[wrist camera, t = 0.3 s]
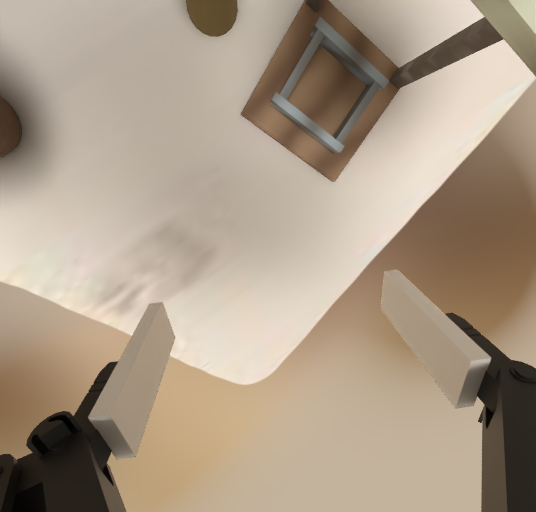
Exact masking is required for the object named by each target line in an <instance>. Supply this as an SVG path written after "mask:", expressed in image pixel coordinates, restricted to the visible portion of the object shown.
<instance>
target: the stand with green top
mask: <svg viewBox="0 0 536 512" xmlns="http://www.w3.org/2000/svg"><path fill="white" fill-rule="evenodd" d="M471 1H472V2H473V4H474V5H475V6H476V7H477V8H478V9H479V11H480V12H481V13H482V14H483V15H484V16H485V17H484V18H482V19H480V20H479V21H477V22H475V23H474V24H472V25H470V26H469V27H467V28H465V29H464V30H462V31H460V32H459V33H457V34H455V35H454V36H452V37H450V38H449V39H447V40H445V41H444V42H442V43H440V44H439V45H437V46H435V47H434V48H432V49H430V50H429V51H427V52H425V53H424V54H422V55H420V56H419V57H417V58H415V59H414V60H412V61H410V62H409V63H407V64H405V65H404V66H402V67H400V68H398V67H397V66H396V65H395V64H394V63H393V62H392V61H391V60H390V59H388V58H387V57H386V56H385V55H384V54H383V53H382V52H381V51H380V50H379V49H378V48H377V47H376V46H375V45H374V44H373V43H372V42H371V41H370V40H369V39H368V38H367V37H366V36H364V35H363V34H362V33H361V32H360V31H359V30H358V29H357V28H356V27H355V26H354V25H353V24H352V23H351V22H350V21H349V20H348V19H347V18H346V17H345V16H344V15H343V14H341V13H340V12H339V11H338V10H337V9H336V8H335V7H334V6H333V5H332V4H331V3H330V2H329V1H328V0H305V1H304V3H303V4H302V6H301V8H300V10H299V12H298V13H297V15H296V17H295V19H294V20H293V22H292V24H291V26H290V28H289V29H288V31H287V33H286V35H285V36H284V38H283V40H282V42H281V44H280V45H279V47H278V49H277V51H276V53H275V54H274V56H273V58H272V60H271V61H270V63H269V65H268V67H267V69H266V70H265V72H264V74H263V76H262V77H261V79H260V81H259V83H258V85H257V86H256V88H255V90H254V92H253V93H252V95H251V97H250V99H249V101H248V102H247V104H246V106H245V108H244V109H243V111H242V113H241V115H242V116H244V117H245V118H246V119H248V120H249V121H251V122H252V123H253V124H255V125H256V126H257V127H259V128H260V129H261V130H263V131H264V132H266V133H267V134H268V135H270V136H271V137H272V138H274V139H275V140H276V141H278V142H279V143H281V144H282V145H283V146H285V147H286V148H287V149H289V150H290V151H291V152H293V153H294V154H296V155H297V156H298V157H300V158H301V159H302V160H304V161H305V162H306V163H308V164H309V165H311V166H312V167H313V168H315V169H316V170H317V171H319V172H320V173H321V174H323V175H324V176H325V177H327V178H328V179H330V180H331V181H333V182H335V181H336V179H337V178H338V176H339V175H340V173H341V172H342V171H343V169H344V168H345V166H346V165H347V163H348V162H349V161H350V159H351V158H352V156H353V155H354V153H355V152H356V151H357V149H358V148H359V146H360V145H361V143H362V142H363V141H364V139H365V138H366V136H367V135H368V133H369V132H370V130H371V129H372V128H373V126H374V125H375V123H376V122H377V120H378V119H379V118H380V116H381V115H382V113H383V112H384V110H385V109H386V108H387V106H388V105H389V103H390V102H391V100H392V99H393V98H394V96H395V95H396V93H397V92H398V90H399V89H400V88H401V87H403V86H405V85H407V84H409V83H412V82H414V81H416V80H418V79H420V78H422V77H424V76H426V75H429V74H431V73H433V72H435V71H437V70H439V69H441V68H443V67H446V66H448V65H450V64H452V63H454V62H456V61H458V60H460V59H463V58H465V57H467V56H469V55H471V54H473V53H475V52H477V51H479V50H482V49H484V48H486V47H488V46H490V45H492V44H494V43H496V42H499V41H501V40H503V39H504V40H505V41H506V42H507V43H508V44H509V46H510V47H511V48H512V49H513V50H514V51H515V53H516V54H517V55H518V56H519V57H520V58H521V60H522V61H523V62H524V63H525V64H526V65H527V67H528V68H529V69H530V70H531V71H532V72H533V74H534V75H535V76H536V0H471Z"/></svg>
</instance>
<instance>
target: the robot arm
mask: <svg viewBox="0 0 536 512" xmlns="http://www.w3.org/2000/svg"><path fill="white" fill-rule="evenodd" d="M381 310H382V311H383V312H384V314H385V315H386V316H387V318H388V319H389V320H390V322H391V323H392V324H393V326H394V327H395V328H396V330H397V331H398V332H399V334H400V335H401V336H402V338H403V339H404V340H405V342H406V343H407V344H408V346H409V347H410V349H411V350H412V351H413V353H414V354H415V355H416V357H417V358H418V359H419V360H420V362H421V363H422V365H423V366H424V367H425V368H426V370H427V371H428V372H429V374H430V375H431V376H432V378H433V379H434V381H435V382H436V383H437V385H438V386H439V387H440V389H441V390H442V391H443V393H444V394H445V395H446V397H447V398H448V399H449V400H450V402H451V403H452V405H453V406H454V407H455V408H462V407H469V406H474V403H475V401H476V398H477V396H478V397H479V399H480V400H481V401H482V402H483V403H484V404H485V405H484V407H483V410H482V413H481V415H480V418H479V420H478V422H480V423H482V421H483V431H482V433H483V434H482V510H481V511H482V512H536V369H535V368H534V367H532V366H530V365H528V364H525V363H523V362H519V361H514V360H510V359H509V358H508V357H507V356H506V355H505V354H503V353H502V352H501V351H500V350H499V349H498V348H497V347H496V346H494V345H493V344H492V343H491V342H490V341H489V340H488V339H486V338H485V337H484V336H483V335H481V334H480V332H478V331H477V330H476V329H474V328H473V326H472V325H470V324H469V323H468V322H467V321H466V320H465V319H463V318H461V317H459V316H457V315H456V314H454V313H447V314H444V313H443V312H442V311H441V310H440V309H439V308H437V306H435V305H434V304H433V303H432V302H431V301H430V300H429V299H428V298H427V297H426V296H425V295H424V294H423V293H421V291H419V290H418V289H417V288H416V287H415V286H414V285H413V284H412V283H411V282H410V281H409V280H408V279H407V278H406V277H404V276H403V275H402V274H401V273H400V272H399V271H398V270H391V271H384V281H383V290H382V300H381ZM174 340H175V335H174V333H173V330H172V327H171V324H170V322H169V319H168V316H167V313H166V311H165V308H164V305H163V302H161V303H153V304H149V306H148V307H147V309H146V311H145V313H144V315H143V317H142V318H141V320H140V322H139V324H138V326H137V328H136V330H135V331H134V333H133V335H132V337H131V339H130V341H129V343H128V344H127V346H126V348H125V350H124V352H123V354H122V356H121V358H120V359H119V361H117V362H110V363H108V364H107V365H106V367H105V368H104V369H102V371H100V373H99V374H98V376H97V378H96V379H95V381H94V384H93V385H92V386H91V388H90V390H89V393H87V395H86V396H85V398H84V400H83V401H82V403H81V405H80V406H79V408H78V410H77V412H76V413H75V415H74V416H72V414H71V413H70V412H66V411H62V412H58V413H55V414H53V415H51V416H49V417H47V418H46V419H45V420H43V421H42V422H41V423H40V424H39V425H38V426H37V427H36V428H35V429H34V430H33V431H32V433H31V434H30V436H29V437H28V440H27V445H26V446H27V447H28V448H29V449H30V450H31V451H32V452H33V453H31V454H29V455H27V456H24V457H22V458H20V459H17V460H16V459H15V458H14V457H13V456H11V455H10V454H3V455H0V512H126V509H125V507H124V504H123V501H122V499H121V496H120V493H119V491H118V488H117V485H116V483H115V480H114V477H113V475H112V472H111V469H110V467H109V465H108V464H107V461H108V458H109V456H110V454H111V452H112V453H113V455H114V456H115V458H116V459H117V460H118V459H125V458H131V457H136V455H137V452H138V449H139V446H140V443H141V440H142V437H143V434H144V431H145V428H146V425H147V422H148V419H149V416H150V413H151V410H152V406H153V404H154V401H155V398H156V395H157V392H158V388H159V386H160V382H161V379H162V376H163V373H164V370H165V367H166V364H167V361H168V358H169V355H170V352H171V349H172V346H173V343H174Z"/></svg>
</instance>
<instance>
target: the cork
mask: <svg viewBox="0 0 536 512" xmlns="http://www.w3.org/2000/svg"><path fill="white" fill-rule="evenodd" d="M186 3H187V11H188V13H189V16H190V19H191V21H192V22H193V24H194V25H195V27H196V28H197V29H199V30H200V31H201V32H202V33H204V34H206V35H209V36H220V35H223V34H225V33H227V32H228V31H229V30H230V29H231V28H232V26H233V24H234V22H235V20H236V16H237V0H186Z"/></svg>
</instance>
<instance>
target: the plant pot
mask: <svg viewBox="0 0 536 512" xmlns="http://www.w3.org/2000/svg"><path fill="white" fill-rule="evenodd" d="M20 138H21V125H20V122H19V119H18V117H17V115H16V113H15V112H14V110H13V109H12V107H11V106H10V105H9V104H8V103H7V102H6V101H5V100H4V99H2V98H1V97H0V157H2V156H3V155H5V154H7V153H8V152H10V151H12V150H13V149H14V148H15V147H16V146H17V145H18V143H19V141H20Z"/></svg>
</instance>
